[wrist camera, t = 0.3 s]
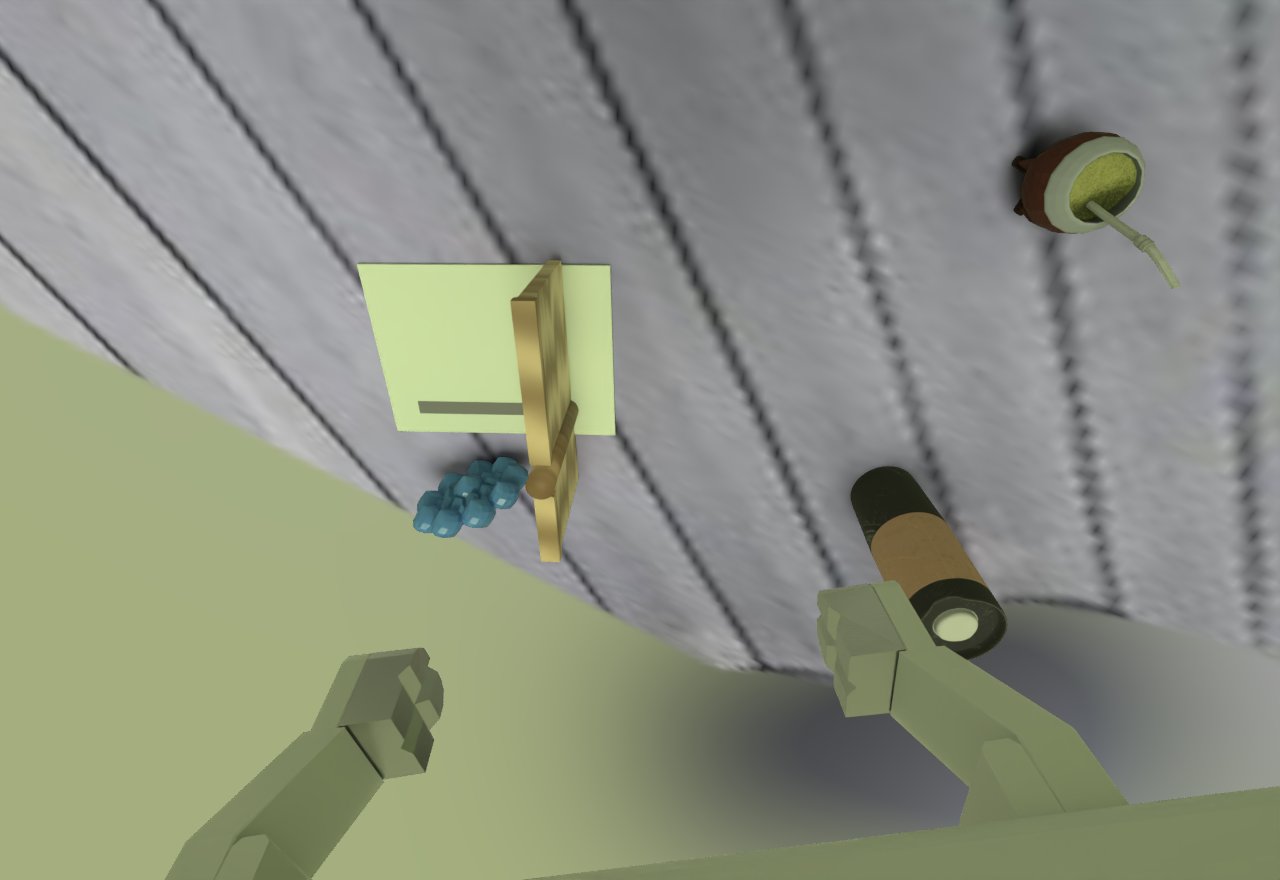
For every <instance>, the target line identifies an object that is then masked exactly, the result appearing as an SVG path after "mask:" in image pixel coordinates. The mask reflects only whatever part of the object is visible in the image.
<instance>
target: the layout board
mask: <svg viewBox="0 0 1280 880" xmlns="http://www.w3.org/2000/svg"><path fill="white" fill-rule="evenodd" d="M544 265H545V264H385V263H359V264H357V267H358V271H359V275H360V279H361V283H362V287H363V291H364V295H365V299H366V303H367V307H368V311H369V315H370V319H371V324H372V328H373V332H374V336H375V340H376V344H377V348H378V352H379V356H380V360H381V364H382V368H383V372H384V376H385V380H386V385H387V389H388V393H389V397H390V401H391V405H392V409H393V413H394V417H395V421H396V425H397V429H398V431H425V432H476V433H526V430H525V421H524V413H523V405H522V396H521V388H520V379H519V371H518V363H517V354H516V346H515V338H514V329H513V321H512V312H511V304H510V301H511V299H512V298H513V297H518V296H519V295H520V294H521V292H522V291H523V290H524V289H525V288H526V286H527V285H528V284H529V283H530V282H531V280H532V279H533V278H534V277H535V276H536V274H537V273H538V272H539V271H540V270H541V268H542V267H543V266H544ZM562 279H563V293H564V307H565V321H566V334H567V348H568V362H569V376H570V390H571V400H572V401H573V402H575V403H576V404H577V406H578V409H579V412H578V415H577V418H576V422H575V425H574V431H575V434H579V435H615V402H614V370H613V337H612V305H611V272H610V265H562Z"/></svg>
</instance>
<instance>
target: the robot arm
mask: <svg viewBox="0 0 1280 880" xmlns="http://www.w3.org/2000/svg"><path fill="white" fill-rule="evenodd" d="M817 605H818V608H819V610H820V613H821V615H820V616H819V617H818V619H817V634H818V640H819V646H820V649H821V653H822V656H823V659H824V661H825V664H826V666H827V667H828V668H829V669H830V670H832V671H833V672H834V688H835V690H836V693H837V696H838V698H839V701H840V703H841V706H842V709H843V711H844V714H845V717H854V716H863V715H873V714H882V713H891V714H890V715H891V716H892V717H893V718H894V719H895V720H896V721H897V722H899V723H900V724H901V725H902V726H903V727H904V728H905V729H906V730H907V731H908V732H909V733H911V734H912V735H913V736H914V737H915V738H916V739H917V740H918V741H920V743H921V744H923V745H924V746H925V747H926V748H927V749H928V750H929V751H930V752H931V753H932V754H934V755H935V756H936V757H937V758H938V759H939V760H940V761H941V762H942V763H943V764H944V765H946V766H947V767H948V768H949V769H950V770H951V771H952V772H953V773H954V774H955V775H956V776H958V777H959V778H960V779H961V780H962V781H963V782H964V783H965V784H966V785H967V786H969V787H970V789H969V792H968V795H967V799H966V802H965V805H964V809H963V812H962V815H961V818H960V822H959V823H960V825H961V826H955V827H947V828H939V829H930V830H922V831H914V832H907V833H898V834H890V835H882V836H874V837H866V838H858V839H850V840H842V841H833V842H826V843H817V844H809V845H801V846H793V847H785V848H776V849H768V850H760V851H752V852H744V853H736V854H728V855H719V856H712V857H703V858H695V859H687V860H679V861H670V862H662V863H654V864H646V865H638V866H630V867H622V868H614V869H606V870H598V871H590V872H581V873H573V874H566V875H558V876H550V877H541V878H533V879H525V880H1280V786H1276V787H1268V788H1260V789H1252V790H1244V791H1237V792H1229V793H1221V794H1212V795H1204V796H1196V797H1188V798H1179V799H1171V800H1164V801H1155V802H1147V803H1139V804H1131V805H1129V804H1128V802H1127V801H1126V799H1125V798H1124V797H1123V795H1122V794H1121V792H1120V791H1119V790H1118V789H1117V787H1116V786H1115V784H1114V783H1113V781H1112V780H1111V779H1110V777H1109V776H1108V775H1107V773H1106V772H1105V770H1104V769H1103V768H1102V766H1101V765H1100V764H1099V762H1098V761H1097V759H1096V758H1095V757H1094V755H1093V754H1092V753H1091V751H1090V750H1089V748H1088V747H1087V746H1086V744H1085V743H1084V742H1083V740H1082V739H1081V737H1080V736H1079V735H1078V733H1077V732H1076V730H1075V729H1074V728H1073V727H1071V726H1070V725H1068V724H1066V723H1065V722H1063V721H1062V720H1060V719H1059V718H1057V717H1055V716H1054V715H1052V714H1051V713H1049V712H1048V711H1046V710H1044V709H1043V708H1041V707H1040V706H1038V705H1037V704H1035V703H1033V702H1032V701H1030V700H1029V699H1027V698H1025V697H1024V696H1022V695H1021V694H1019V693H1018V692H1016V691H1015V690H1013V689H1011V688H1010V687H1008V686H1007V685H1005V684H1003V683H1002V682H1000V681H999V680H997V679H996V678H994V677H993V676H991V675H989V674H988V673H986V672H985V671H983V670H982V669H980V668H978V667H977V666H975V665H974V664H972V663H971V662H969V661H967V660H966V659H964V658H963V657H961V656H960V655H958V654H956V653H955V652H953V651H952V650H950V649H949V648H947V647H945V646H936V645H935V643H934V642H933V640H932V638H931V637H930V635H929V633H928V632H927V630H926V628H925V627H924V625H923V623H922V622H921V620H920V618H919V617H918V615H917V613H916V611H915V610H914V608H913V606H912V605H911V603H910V601H909V600H908V598H907V596H906V595H905V593H904V591H903V590H902V588H901V586H900V585H899V583H897V582H896V581H895V580H891V581H884V582H877V583H870V584H861V585H855V586H848V587H842V588H835V589H828V590H822V591H819V593H818V595H817ZM429 660H430V657H429V655H428V654H427V652H426V650H425V649H424V648H413V649H404V650H395V651H387V652H377V653H370V654H362V655H355V656H349V657H348V658H347V659H346V660H345V661H344V662H343V663H342V665H341V667H340V669H339V671H338V673H337V675H336V678H335V680H334V682H333V684H332V686H331V688H330V690H329V693H328V695H327V697H326V699H325V701H324V703H323V705H322V708H321V710H320V712H319V714H318V716H317V718H316V721H315V723H314V725H313V727H312V729H311V731H309V732H303V733H302V734H301V735H300V736H299V737H298V738H297V739H296V740H295V741H294V742H292V744H290V745H289V746H288V747H287V748H286V749H285V750H284V751H283V752H282V753H281V754H280V755H279V756H277V757H276V758H275V759H274V760H273V761H272V762H271V763H270V764H269V765H268V766H267V767H266V768H265V769H264V770H262V771H261V772H260V773H259V774H258V775H257V776H256V777H255V778H254V779H253V780H252V781H251V782H250V783H249V784H248V785H246V786H245V787H244V788H243V789H242V790H241V791H240V792H239V793H238V794H237V795H236V796H235V797H234V798H232V799H231V801H229V802H228V803H227V804H226V805H225V806H224V807H223V808H222V809H221V810H220V811H219V812H218V813H216V814H215V815H214V816H213V817H212V818H211V819H210V820H209V821H208V822H207V823H206V824H205V825H204V826H203V827H201V828H200V829H199V830H198V831H197V832H196V833H195V834H194V835H193V836H192V837H191V838H190V839H189V840H188V841H187V842H186V843H185V845H184V846H183V848H182V850H181V852H180V853H179V855H178V857H177V859H176V861H175V862H174V864H173V866H172V868H171V869H170V871H169V873H168V875H167V877H166V879H165V880H312V879H311V878H312V877H313V875H314V874H315V873H316V871H317V870H318V869H319V867H320V866H321V864H322V863H323V862H324V861H325V859H326V858H327V857H328V855H329V854H330V853H331V851H332V850H333V849H334V847H335V846H336V845H337V843H338V842H339V841H340V839H341V838H342V837H343V835H344V834H345V833H346V832H347V830H348V829H349V828H350V826H351V825H352V824H353V822H354V821H355V820H356V818H357V817H358V815H359V814H360V813H361V812H362V810H363V809H364V808H365V806H366V805H367V804H368V802H369V801H370V800H371V798H372V797H373V796H374V794H375V793H376V792H377V790H378V789H379V788H380V786H381V785H382V784H383V782H384V781H383V779H389V778H395V777H402V776H408V775H414V774H420V773H425V772H426V767H427V764H428V761H429V757H430V753H431V750H432V746H433V742H434V739H433V736H432V735H431V732H430V729H431V728H432V727H433V726H434V725H435V723H436V722H437V721H438V720H439V719H440V716H441V712H442V708H443V691H444V689H443V685H442V681H441V678H440V676H439V674H438V672H437V671H435V670H433V669H431V668H429V667H428V663H429Z"/></svg>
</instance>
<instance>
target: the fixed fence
mask: <svg viewBox="0 0 1280 880" xmlns="http://www.w3.org/2000/svg"><path fill="white" fill-rule="evenodd" d="M578 412H579V409H578V406H577V404H576V403H575V402H573V401H572V400H570V403H569V406H568V409H567V412H566V414H565V417H564V420H563V423H562V426H561V429H560V431H559V434H558V437H557V440H556V443H555V446H554V448H553V451H552V453H553V461H552V464H551V466H538V465H533V467H532V469H531V472H530V475H529V477H528V480H527V482H526V491H527V493H528V494H529V495H530V496H531V497H533V498H534V505H535V513H536V522H537V530H538V539H539V547H540V555H541V561H547V562H560V561H561V557H562V548H561V545H562V541H563V537H564V533H565V529H566V525H567V521H568V518H569V514H570V510H571V506H572V502H573V498H574V494H575V490H576V486H577V482H578V479H579V478H578V464H577V450H576V436H575V431H574V425H575V422H576V418H577V415H578Z"/></svg>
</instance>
